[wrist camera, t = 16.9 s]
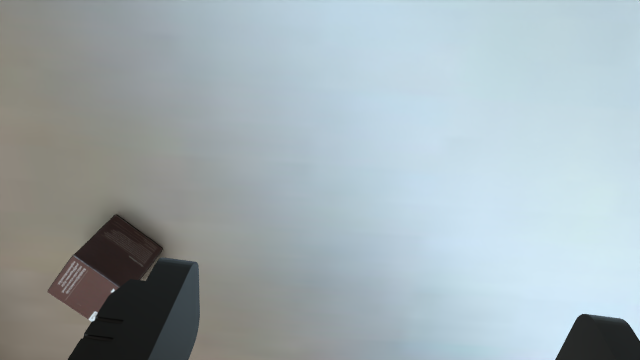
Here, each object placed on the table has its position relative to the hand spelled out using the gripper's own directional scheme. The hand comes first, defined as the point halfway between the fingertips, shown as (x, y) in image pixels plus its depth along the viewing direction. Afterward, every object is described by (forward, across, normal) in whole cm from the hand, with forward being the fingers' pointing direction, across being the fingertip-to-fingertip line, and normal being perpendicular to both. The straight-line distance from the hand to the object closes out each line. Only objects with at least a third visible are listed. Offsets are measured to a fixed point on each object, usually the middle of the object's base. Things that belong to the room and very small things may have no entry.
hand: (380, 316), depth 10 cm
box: (+31, +21, +26) cm, 46 cm away
